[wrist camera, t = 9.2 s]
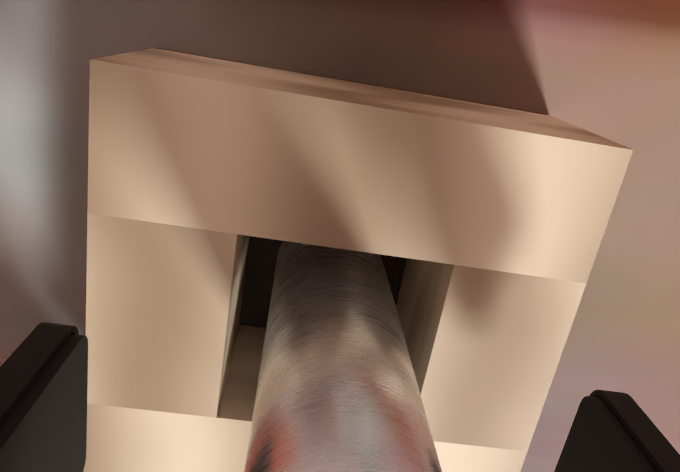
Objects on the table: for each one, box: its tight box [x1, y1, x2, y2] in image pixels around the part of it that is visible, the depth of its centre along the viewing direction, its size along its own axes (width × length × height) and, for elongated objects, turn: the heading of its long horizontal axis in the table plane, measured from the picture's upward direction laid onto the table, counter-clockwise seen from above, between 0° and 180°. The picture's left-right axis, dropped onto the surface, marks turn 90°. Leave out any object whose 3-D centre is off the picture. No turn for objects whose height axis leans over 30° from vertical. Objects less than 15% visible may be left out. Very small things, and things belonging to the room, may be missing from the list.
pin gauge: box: [244, 241, 442, 472], centre depth 11 cm, size 3×3×14 cm
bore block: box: [84, 48, 633, 472], centre depth 15 cm, size 11×11×4 cm
